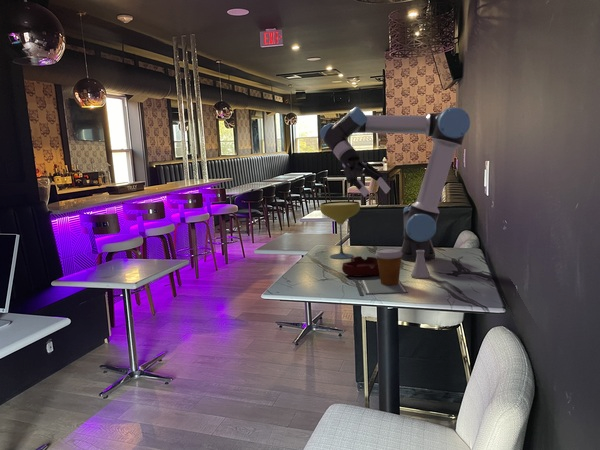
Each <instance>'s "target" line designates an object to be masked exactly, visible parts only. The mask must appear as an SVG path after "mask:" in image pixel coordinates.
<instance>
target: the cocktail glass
mask: <svg viewBox="0 0 600 450" xmlns="http://www.w3.org/2000/svg"><path fill="white" fill-rule="evenodd" d="M319 208H320V212H321V213H322V215H324V216H325V217H328V218H329V219H332V220H334V222H336V223H337V224H338V226H339V231H340V233H339V236H340V238H339V239H340V241H339V243H340V248H339V249H340V250H339V252H338V253H334V254H331V255H329V258H330V259H334V260H347V259H351V258H354V255H353V254H352V253H344V251H343V249H344V248H343V237H342V235H343V233H342V232H343V231H342V226H343V225H344V224H345V222H346V221H348V220H349V219H350V218H353V217H354V216H356V215H357V214H358V213H359V212H360V210H361V204H360V202H359V201H356V200H355V201H354V200H353V201H352V200H340V201H338V200H337V201H336V200H335V201H326V202H321V203H320V206H319Z"/></svg>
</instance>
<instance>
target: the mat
mask: <svg viewBox="0 0 600 450" xmlns="http://www.w3.org/2000/svg"><path fill="white" fill-rule="evenodd" d="M360 283H361V286H362V288H363V291H364V293H365V295H386V294H408V293H409V291H408V290H407V289H406V288H405V286H404V284H403V283H402V282H401V280H400V279H399V283H398V284H396V285H383V284H381V280H380V279H369V280H365V279H363V280H360Z"/></svg>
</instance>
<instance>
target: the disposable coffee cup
mask: <svg viewBox="0 0 600 450" xmlns="http://www.w3.org/2000/svg"><path fill="white" fill-rule="evenodd" d="M374 255H375V258H377V262H378V268H379V274H380V275H379V278H380V279H379V280H381V284H383V285H396V284H398V283H399V280H400V273H401V263H402V262H401V261H402V259H401V256H402V253H401V248H397V247H383V248H378V249H376V251H375V254H374Z"/></svg>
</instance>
